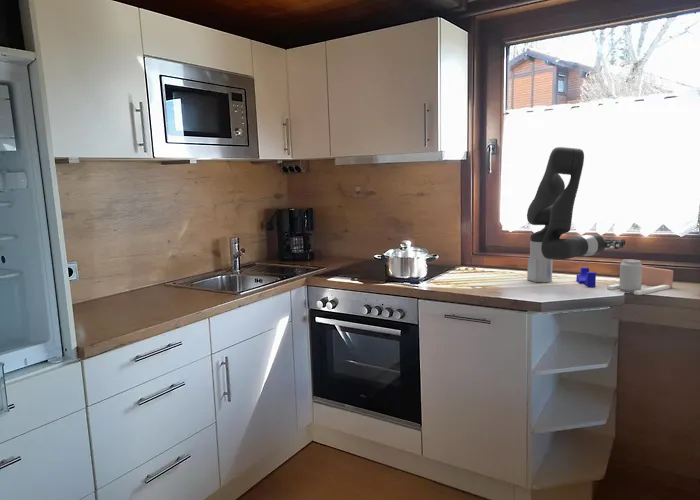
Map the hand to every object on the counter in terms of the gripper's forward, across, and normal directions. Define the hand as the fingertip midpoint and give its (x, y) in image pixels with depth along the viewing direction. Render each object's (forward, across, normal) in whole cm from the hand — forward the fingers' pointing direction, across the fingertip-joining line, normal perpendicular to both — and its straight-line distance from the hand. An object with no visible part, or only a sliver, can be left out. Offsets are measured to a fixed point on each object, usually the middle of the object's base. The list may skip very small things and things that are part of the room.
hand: (616, 241), depth 195 cm
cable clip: (+7, +17, +20) cm, 28 cm away
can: (+10, 0, +20) cm, 22 cm away
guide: (+16, 0, +20) cm, 26 cm away
